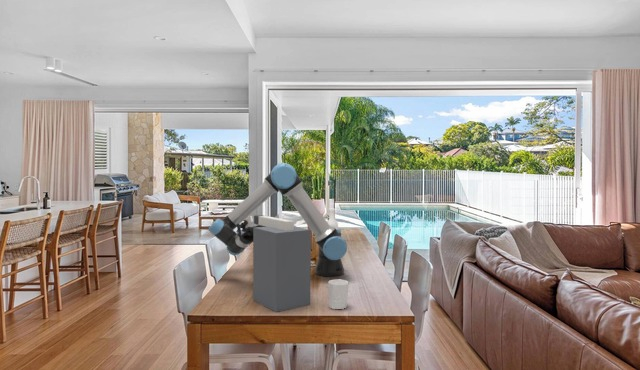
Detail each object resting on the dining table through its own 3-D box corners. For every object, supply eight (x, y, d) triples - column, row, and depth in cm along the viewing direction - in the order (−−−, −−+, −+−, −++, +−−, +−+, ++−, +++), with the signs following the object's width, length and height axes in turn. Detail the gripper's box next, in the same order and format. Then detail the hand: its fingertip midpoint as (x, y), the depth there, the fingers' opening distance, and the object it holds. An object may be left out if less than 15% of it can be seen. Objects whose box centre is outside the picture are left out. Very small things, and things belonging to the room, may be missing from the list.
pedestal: (253, 300, 175) (253, 227, 174) (286, 293, 185) (286, 224, 184) (275, 312, 161) (276, 233, 160) (310, 304, 170) (310, 229, 169)
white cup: (327, 304, 171) (327, 279, 171) (346, 303, 172) (346, 279, 171) (329, 310, 163) (329, 284, 163) (349, 310, 164) (349, 284, 164)
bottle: (340, 256, 266) (340, 208, 265) (329, 257, 262) (330, 208, 261) (333, 254, 273) (333, 207, 272) (322, 255, 269) (323, 207, 268)
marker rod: (254, 223, 187) (254, 215, 186) (261, 223, 189) (261, 215, 189) (285, 230, 166) (286, 221, 166) (293, 230, 168) (293, 221, 168)
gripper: (271, 241, 203) (293, 223, 188) (222, 247, 188) (241, 228, 173) (267, 227, 205) (288, 208, 190) (219, 231, 190) (237, 211, 175)
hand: (266, 217), depth 181 cm, fingers open, 13 cm apart
